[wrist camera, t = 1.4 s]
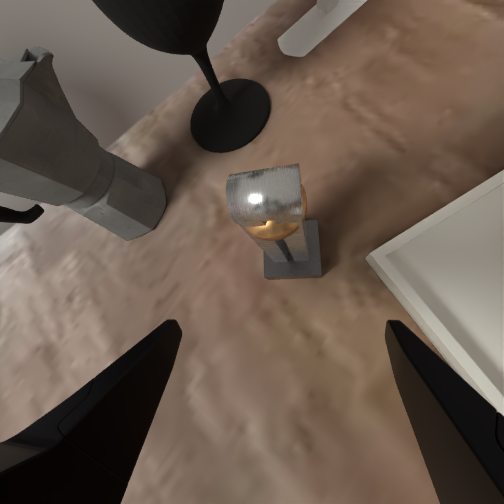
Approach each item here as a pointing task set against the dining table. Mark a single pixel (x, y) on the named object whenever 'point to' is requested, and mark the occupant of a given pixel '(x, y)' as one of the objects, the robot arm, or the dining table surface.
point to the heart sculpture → (316, 25)
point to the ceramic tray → (456, 283)
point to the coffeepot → (65, 156)
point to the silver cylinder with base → (277, 220)
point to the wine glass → (194, 43)
